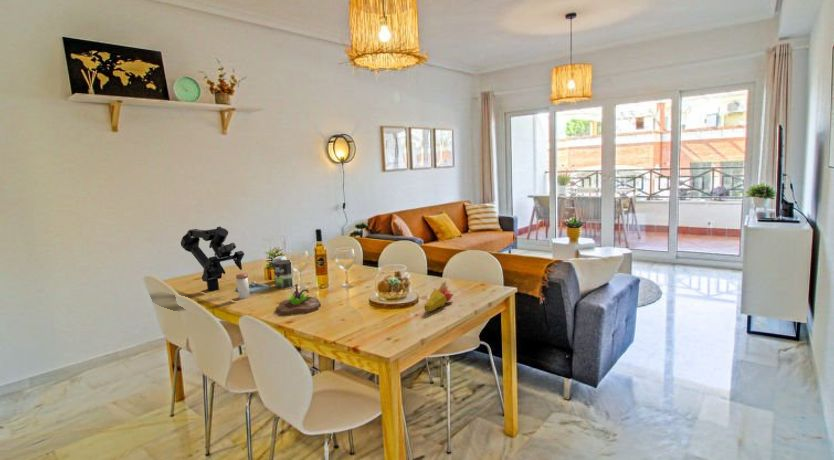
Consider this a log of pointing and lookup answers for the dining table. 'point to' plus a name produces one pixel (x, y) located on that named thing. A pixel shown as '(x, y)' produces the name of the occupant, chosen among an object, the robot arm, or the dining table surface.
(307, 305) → the plant
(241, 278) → the shaker
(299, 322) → the dining table surface
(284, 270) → the coffee can
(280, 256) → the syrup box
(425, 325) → the dining table surface
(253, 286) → the steel ball
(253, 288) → the tray
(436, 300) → the flower bouquet
